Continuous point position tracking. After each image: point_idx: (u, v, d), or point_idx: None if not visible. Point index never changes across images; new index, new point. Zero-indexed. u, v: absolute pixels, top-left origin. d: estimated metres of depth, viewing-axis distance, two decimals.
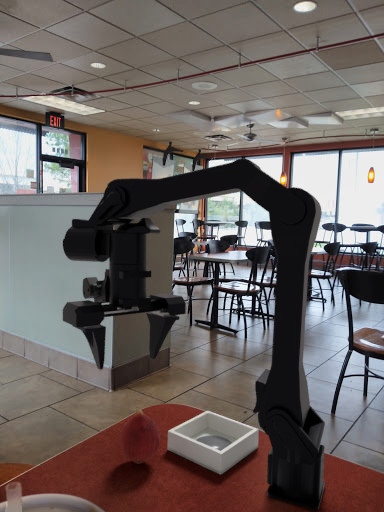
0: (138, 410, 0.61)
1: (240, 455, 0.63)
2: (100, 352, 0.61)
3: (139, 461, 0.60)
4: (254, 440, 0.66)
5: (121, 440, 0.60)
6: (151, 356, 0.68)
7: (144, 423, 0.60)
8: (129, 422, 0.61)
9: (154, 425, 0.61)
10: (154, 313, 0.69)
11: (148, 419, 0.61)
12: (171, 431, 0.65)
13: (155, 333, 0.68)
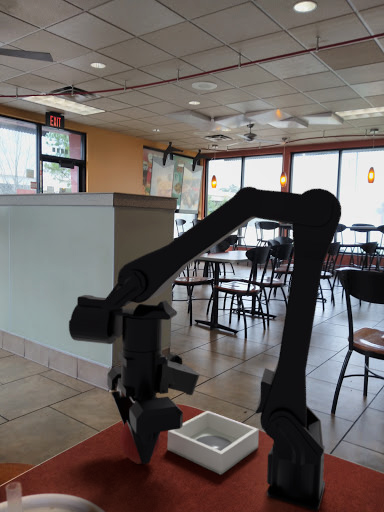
0: None
1: (240, 455, 0.63)
2: (123, 422, 0.64)
3: (139, 461, 0.60)
4: (254, 440, 0.66)
5: (121, 440, 0.60)
6: None
7: None
8: None
9: None
10: None
11: None
12: (171, 431, 0.65)
13: None
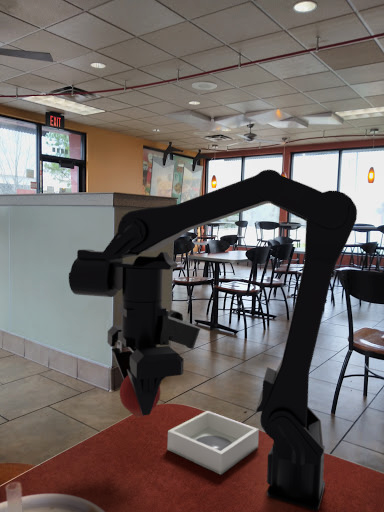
0: None
1: (240, 455, 0.63)
2: (123, 378, 0.64)
3: (139, 414, 0.59)
4: (254, 440, 0.66)
5: (121, 393, 0.59)
6: None
7: None
8: None
9: None
10: None
11: None
12: (171, 431, 0.65)
13: None
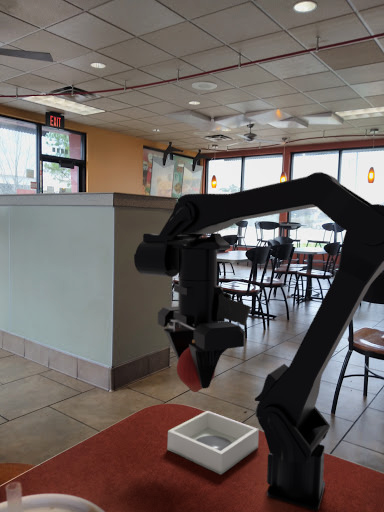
0: None
1: (240, 455, 0.63)
2: (177, 356, 0.67)
3: (197, 387, 0.62)
4: (254, 440, 0.66)
5: (180, 368, 0.62)
6: None
7: None
8: (186, 351, 0.63)
9: None
10: None
11: None
12: (171, 431, 0.65)
13: None
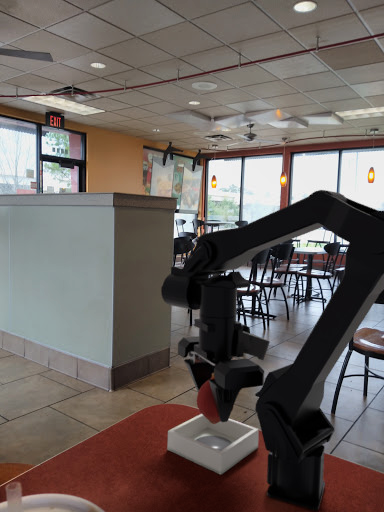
0: None
1: (240, 455, 0.63)
2: (196, 387, 0.69)
3: (216, 420, 0.64)
4: (254, 440, 0.66)
5: (200, 401, 0.64)
6: None
7: None
8: (206, 384, 0.65)
9: None
10: None
11: None
12: (171, 431, 0.65)
13: None
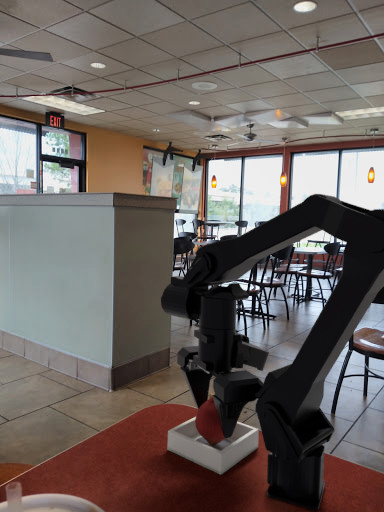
0: (212, 394, 0.66)
1: (240, 455, 0.63)
2: (192, 394, 0.70)
3: (215, 441, 0.64)
4: (254, 440, 0.66)
5: (198, 422, 0.65)
6: None
7: None
8: (204, 405, 0.66)
9: None
10: None
11: None
12: (171, 431, 0.65)
13: None
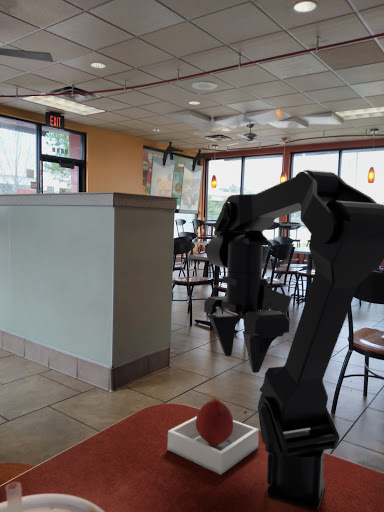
0: (213, 396, 0.65)
1: (240, 455, 0.63)
2: (218, 339, 0.75)
3: (216, 443, 0.64)
4: (254, 440, 0.66)
5: (199, 424, 0.64)
6: None
7: (220, 408, 0.64)
8: (206, 408, 0.65)
9: (228, 410, 0.66)
10: None
11: (223, 404, 0.65)
12: (171, 431, 0.65)
13: None
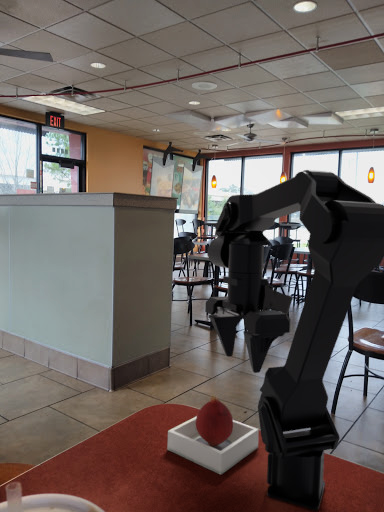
0: (213, 396, 0.66)
1: (240, 455, 0.63)
2: (220, 339, 0.75)
3: (216, 443, 0.64)
4: (254, 440, 0.66)
5: (199, 424, 0.64)
6: None
7: (220, 408, 0.65)
8: (205, 407, 0.65)
9: (228, 410, 0.66)
10: None
11: (223, 404, 0.65)
12: (171, 431, 0.65)
13: None
